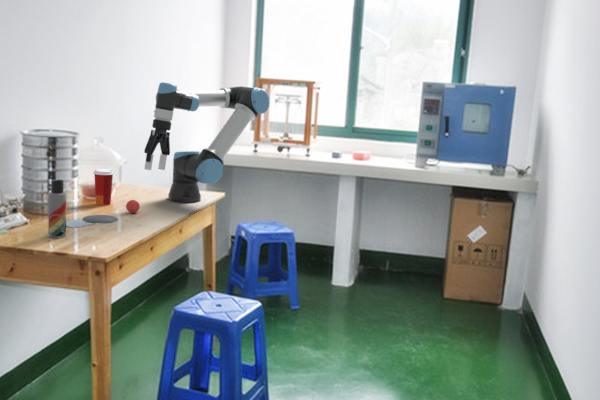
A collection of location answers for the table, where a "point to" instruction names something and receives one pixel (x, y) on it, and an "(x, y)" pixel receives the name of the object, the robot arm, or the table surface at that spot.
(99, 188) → the coffee cup
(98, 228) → the table surface
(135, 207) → the ball
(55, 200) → the lotion bottle
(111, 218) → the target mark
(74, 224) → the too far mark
